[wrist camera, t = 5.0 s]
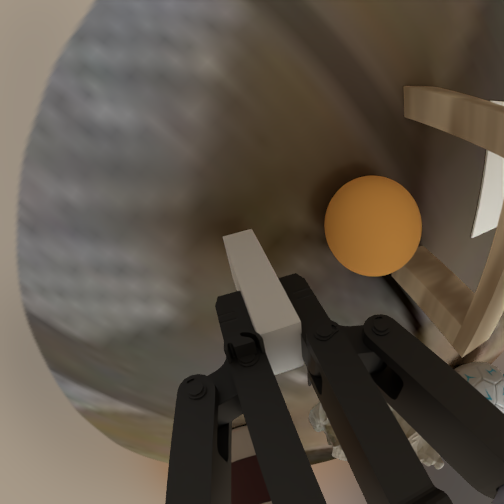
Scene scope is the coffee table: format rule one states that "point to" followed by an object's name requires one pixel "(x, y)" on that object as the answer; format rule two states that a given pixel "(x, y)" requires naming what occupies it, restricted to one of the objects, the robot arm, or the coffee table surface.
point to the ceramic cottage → (417, 442)
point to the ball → (373, 225)
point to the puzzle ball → (485, 381)
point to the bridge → (424, 262)
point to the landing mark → (490, 193)
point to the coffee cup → (246, 471)
